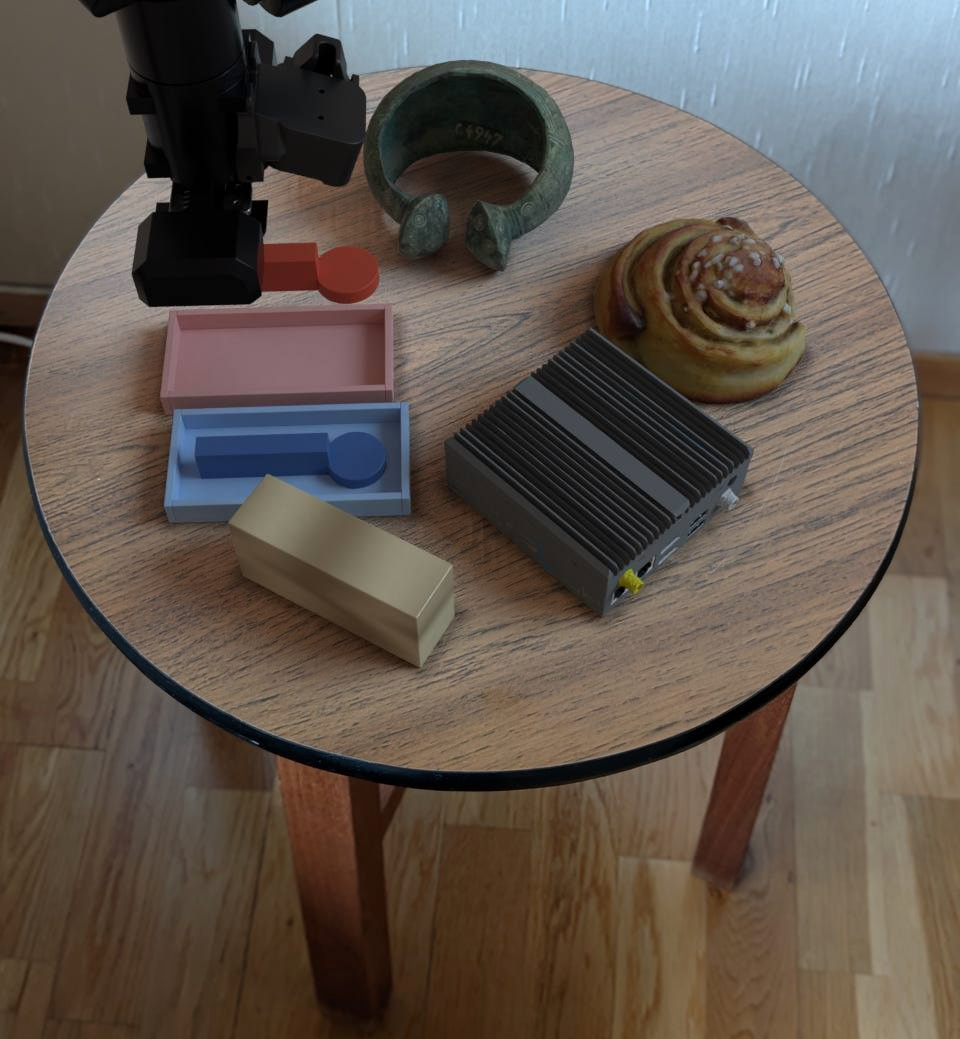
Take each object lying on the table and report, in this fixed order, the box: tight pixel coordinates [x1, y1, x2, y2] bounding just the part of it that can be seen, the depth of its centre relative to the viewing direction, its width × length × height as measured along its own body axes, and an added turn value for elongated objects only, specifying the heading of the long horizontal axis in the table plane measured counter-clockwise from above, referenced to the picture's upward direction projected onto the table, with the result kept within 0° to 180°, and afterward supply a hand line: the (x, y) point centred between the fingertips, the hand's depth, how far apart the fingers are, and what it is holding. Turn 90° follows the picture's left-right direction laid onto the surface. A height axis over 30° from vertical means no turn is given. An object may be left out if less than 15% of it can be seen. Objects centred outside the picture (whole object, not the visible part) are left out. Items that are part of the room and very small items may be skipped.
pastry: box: [592, 216, 807, 404], centre depth 89 cm, size 13×15×8 cm
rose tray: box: [159, 303, 395, 416], centre depth 89 cm, size 15×8×2 cm, turn 92°
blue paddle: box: [194, 432, 386, 488], centre depth 84 cm, size 12×4×2 cm, turn 92°
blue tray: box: [163, 401, 412, 524], centre depth 84 cm, size 15×8×2 cm, turn 92°
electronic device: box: [443, 326, 755, 618], centre depth 82 cm, size 13×15×5 cm
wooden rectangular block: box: [227, 474, 455, 668], centre depth 78 cm, size 13×4×6 cm, turn 60°
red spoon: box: [262, 241, 381, 305], centre depth 78 cm, size 12×4×2 cm, turn 92°
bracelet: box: [362, 59, 575, 272], centre depth 94 cm, size 15×15×10 cm
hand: (234, 271), depth 78 cm, fingers closed on red spoon, 1 cm apart
